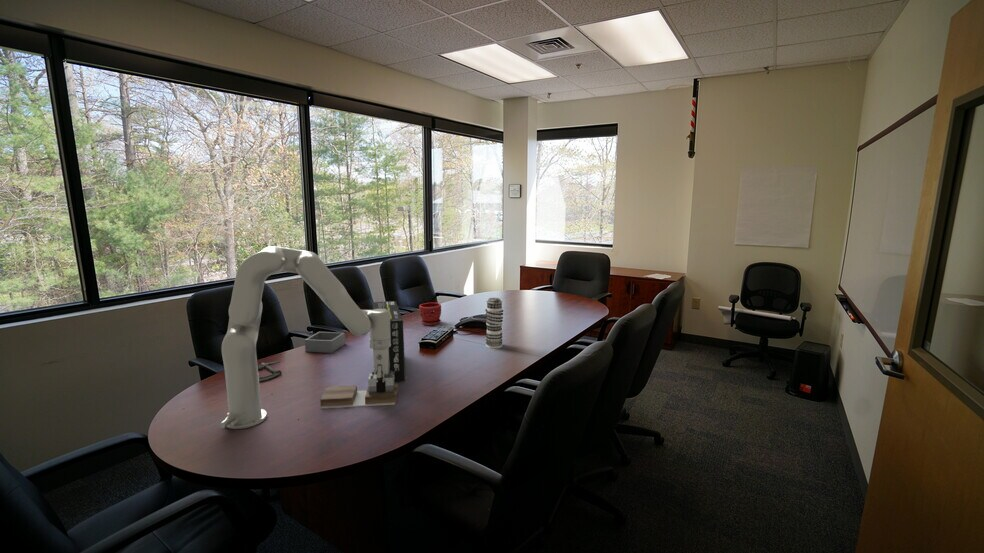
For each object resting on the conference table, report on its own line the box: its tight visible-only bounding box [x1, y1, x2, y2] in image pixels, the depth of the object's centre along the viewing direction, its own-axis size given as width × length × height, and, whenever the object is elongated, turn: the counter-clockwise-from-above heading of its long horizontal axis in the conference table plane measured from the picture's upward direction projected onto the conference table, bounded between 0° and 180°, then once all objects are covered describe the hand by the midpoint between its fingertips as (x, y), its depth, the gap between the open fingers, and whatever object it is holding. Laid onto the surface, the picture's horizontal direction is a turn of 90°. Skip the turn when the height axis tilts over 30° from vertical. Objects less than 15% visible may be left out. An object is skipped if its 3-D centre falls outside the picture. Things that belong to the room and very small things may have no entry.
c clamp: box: [258, 360, 283, 383], centre depth 191 cm, size 20×17×3 cm
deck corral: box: [304, 331, 346, 354], centre depth 223 cm, size 14×14×6 cm
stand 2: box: [365, 383, 399, 404], centre depth 167 cm, size 11×11×3 cm
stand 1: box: [319, 385, 358, 407], centre depth 165 cm, size 11×11×3 cm
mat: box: [320, 390, 397, 410], centre depth 166 cm, size 26×13×1 cm, turn 98°
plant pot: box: [418, 302, 442, 327], centre depth 269 cm, size 13×13×12 cm
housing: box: [367, 370, 396, 394], centre depth 166 cm, size 6×9×7 cm, turn 98°
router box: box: [372, 300, 406, 383], centre depth 195 cm, size 36×11×27 cm, turn 17°
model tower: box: [484, 297, 504, 350], centre depth 227 cm, size 9×9×25 cm
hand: (381, 387), depth 167 cm, fingers open, 6 cm apart
